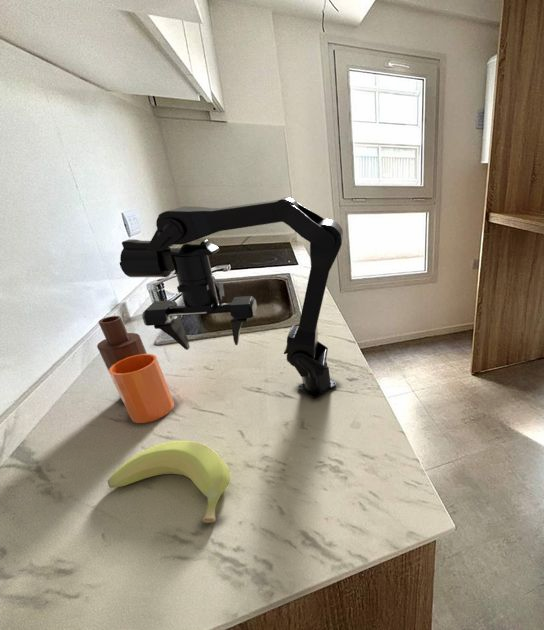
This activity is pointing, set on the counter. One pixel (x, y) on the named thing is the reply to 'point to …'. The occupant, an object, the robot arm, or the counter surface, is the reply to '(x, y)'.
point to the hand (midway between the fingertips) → (212, 346)
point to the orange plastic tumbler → (142, 387)
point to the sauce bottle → (118, 341)
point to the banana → (179, 469)
